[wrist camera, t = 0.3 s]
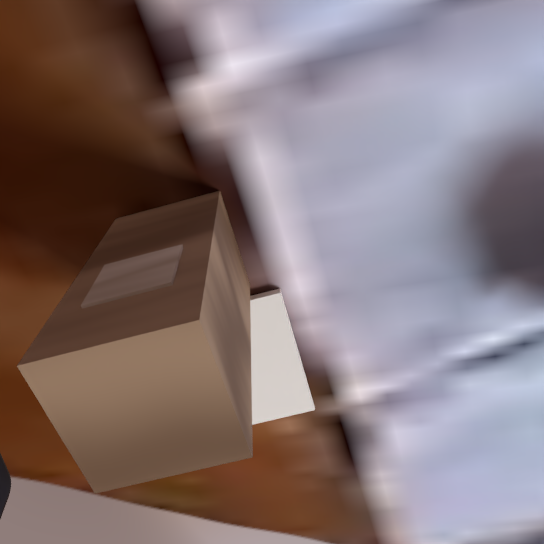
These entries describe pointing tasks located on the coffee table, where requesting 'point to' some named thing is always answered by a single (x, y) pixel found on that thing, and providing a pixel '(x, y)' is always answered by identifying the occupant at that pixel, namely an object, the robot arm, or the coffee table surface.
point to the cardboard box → (151, 349)
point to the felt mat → (275, 362)
